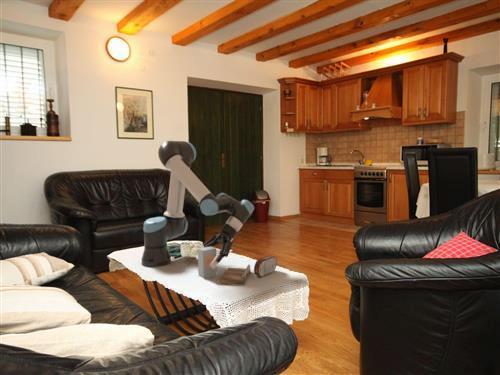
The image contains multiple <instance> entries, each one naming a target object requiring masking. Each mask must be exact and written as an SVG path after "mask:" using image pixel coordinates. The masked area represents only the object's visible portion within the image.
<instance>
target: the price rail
mask: <svg viewBox="0 0 500 375" xmlns="http://www.w3.org/2000/svg"><path fill="white" fill-rule="evenodd" d="M249 270H250V271H251V264H248V265H247V266H246V270H245V271H244V273H243V275H242V276H241V282H243V281H244V279H245V277H246V275H247V274H248V272H249Z"/></svg>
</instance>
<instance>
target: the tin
mask: <svg viewBox="0 0 500 375" xmlns="http://www.w3.org/2000/svg"><path fill="white" fill-rule="evenodd" d="M277 261H278V260H277V257H276V256H273V255H271V254H268V255H266V256H263V257H260V258H258V259H257V260H256V262H255V263H254V266H253V272H254V275H255V276H257V277H260V278H262V277H265V276H267V275H270V274H273V272H275V270H276V268H277Z"/></svg>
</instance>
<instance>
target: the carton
mask: <svg viewBox="0 0 500 375" xmlns="http://www.w3.org/2000/svg"><path fill="white" fill-rule="evenodd" d="M197 256H198V260H197V262H198V263H197V266H198V269H197V271H198V272H197V273H198V276H199V277H200V278H202V279H203V278H204V279H208V278H212V277H211V276H213V277H216V276H215V275H217V274H218V271H217V270H218V268H217V267H218V265H217V266H216V267H215V269H213V268H212V267H211V266H210V264H211V263H212V261H213V260H214V259H215V257H216V256H217V248H216V247H215V246H213V247H212V246H210V247H204V246H203V247H199V248H197ZM217 276H218V275H217ZM207 277H208V278H207Z"/></svg>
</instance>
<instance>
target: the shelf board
mask: <svg viewBox="0 0 500 375" xmlns="http://www.w3.org/2000/svg"><path fill="white" fill-rule="evenodd" d="M246 268H247V267H246ZM246 268H244V267H243V268H242V267H227V269H226V270H225V271H224V273H223V274H222V275H221V277H220V278H218V284H219V283H221V284H220V285H233V284H235V285H236V286H244V284H245V283H246V281H247V279H248V277H249V275H250V274H251V269H250V270H249V272H248V274H247V275H246V277H245V279H244V281H243V282H241V276H242V275H243V273H244V271H245V270H246Z"/></svg>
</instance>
